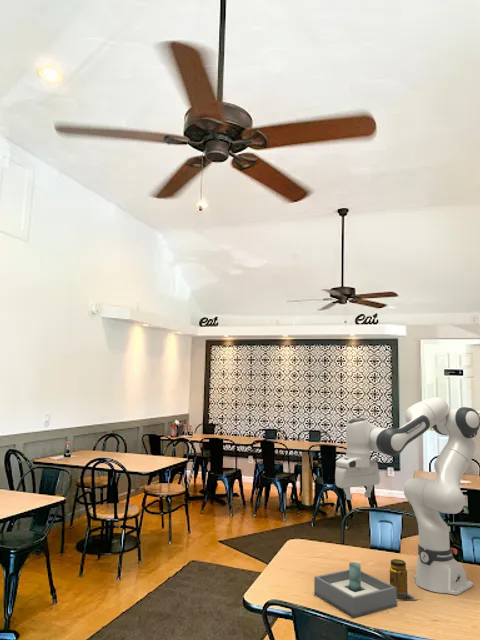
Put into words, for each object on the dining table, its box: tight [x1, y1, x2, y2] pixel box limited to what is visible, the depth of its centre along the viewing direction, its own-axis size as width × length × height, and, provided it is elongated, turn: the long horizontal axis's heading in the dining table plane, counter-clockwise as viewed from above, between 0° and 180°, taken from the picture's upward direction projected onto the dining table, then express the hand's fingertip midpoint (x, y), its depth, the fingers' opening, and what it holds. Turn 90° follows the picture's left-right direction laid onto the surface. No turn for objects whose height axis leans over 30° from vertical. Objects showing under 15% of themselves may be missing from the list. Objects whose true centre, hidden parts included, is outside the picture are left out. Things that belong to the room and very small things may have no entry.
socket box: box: [313, 569, 398, 619], centre depth 166 cm, size 20×20×6 cm
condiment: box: [389, 558, 418, 602], centre depth 171 cm, size 7×8×12 cm
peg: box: [348, 561, 362, 592], centre depth 169 cm, size 4×4×10 cm
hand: (358, 498), depth 179 cm, fingers open, 8 cm apart
